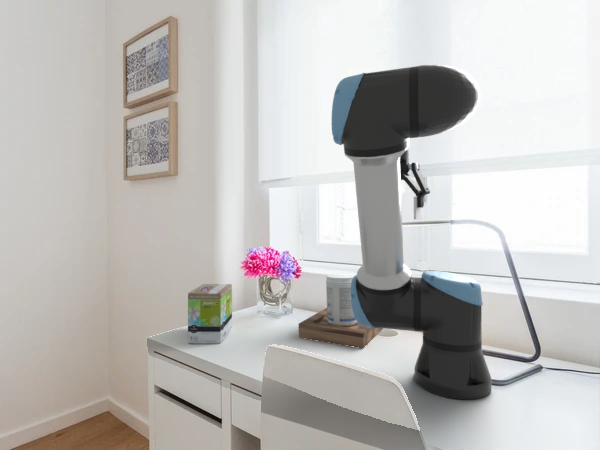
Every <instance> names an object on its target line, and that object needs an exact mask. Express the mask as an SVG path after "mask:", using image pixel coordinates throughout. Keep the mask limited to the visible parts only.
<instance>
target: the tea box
mask: <svg viewBox="0 0 600 450" xmlns="http://www.w3.org/2000/svg"><path fill="white" fill-rule="evenodd" d="M232 286H233V285H232V284H231V283H224V284H223V283H221V284H220V283H218V284H217V283H210V284H209V283H206V284H205V283H203V284H201V285H200V286H198V287H196V288H195V289H193V290H191V291H189V292H188V293H187V343H188V344H195V345H197V344H202V345H203V344H204V345H205V344H207V345H208V344H209V345H210V344H221V343H222V341H224V338H226V336H227V334H229V332H230V331H231V329H232V328H233V287H232Z"/></svg>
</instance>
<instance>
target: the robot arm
mask: <svg viewBox="0 0 600 450" xmlns="http://www.w3.org/2000/svg"><path fill="white" fill-rule="evenodd" d="M480 101H481V91H480V86H479V83H478V82H477V80H476V78H474V77H473V75H471V74H470V73H468V72H467V71H465V70H462V69H461V68H458V67H454V66H449V65H445V64H444V65H443V64H420V65H417V66H410V67H409V66H407V67H401V68H395V69H387V70H380V71H373V72H367V73H366V72H362V73H359V74H356V75H351V76H347V77H344V78H342V79H341V80H340V81H339V82H338V84H337V86H336V87H335V91H334V95H333V99H332V105H331V106H332V107H331V134H332V136H333V137H332V140H333V142H334V143H335V144H336V145H338V146H342V145H343V151H344V156H345V157H347V159H349V160H351V161H352V162H353V172H354V174H353V175H354V182H355V193H356V206H357V215H358V216H357V217H358V226H359V227H358V228H359V235H360V236H359V237H360V239H359V240H360V247H361V260H362V265H361V266H360V267H359V268H358V270H357V272H356V274H355V276H354V277H353V279H352V282H351V289H350V292H351V305H352V310H353V314H354V317H355V319H356V321H357V322H358V323H359V324H361V325H362V326H367V327H373V328H377V329H379V328H383V329H388V330H397V331H399V330H400V331H408V332H409V331H411V332H420V333H422V345H421V348H420V350H419V353H418V356H417V359H416V362H415V365H414V380H415V382H416V383H417V385H419V386H420V387H421V388H422V389H424V390H425V391H428V392H430V393H432V394H434V395H439V396H442V397H446V398H449V399H456V400H476V399H480V398H481V399H482V398H484V397H487V396H488V395H489V394H490V393H491V391H492V376H491V373H490V370H489V367H488V364H487V361H486V359H485V356H484V353H483V345H482V339H483V338H482V337H483V336H482V335H483V333H482V331H483V328H482V325H483V324H482V306H484V305H483V304H484V302H483V299H482V287H481V285H480V283H479V282H478V281H477V280H476V279H473V278H472V277H469V276H466V275H464V274H463V275H462V274H458V273H453V272H446V271H443V270H442V271H439V270H423V272H422V274H421V277H414V276H413V277H412V271H411V269H410V268H409V266H407V265H406V264H405V263H404V241H403V215H402V213H403V211H402V210H403V209H402V185H401V182H402V181H404V182H405V183H406V184H407V186H408V187H409V188H410V189H411V191H412V192H413V193H414V194H415V196H413V220H422V208H424V205H425V204H424V197H425V196H426V195H429V194H430V193H431V190H430V188H429V186H428V184H427V181H426V179H425V177H424V175H423V174H422V172H421V167H420V164H419V163H418V162H411V164H410V160H411V159H410V158H411V157H410V154H411V153H410V152H411V151H410V149H409V148H410V139H415V138H417V139H418V138H423V137H425V138H426V137H431V136H436V135H439V134H441V133H445V132H448V131H451V130H453V129H455V128H457V127H458V126H459V127H460V126H461V125H463V124H464V123H466V122H467V121H468V120H470V119H471V118H472V116H473V115H474V114H475V113H476V111H477V109H478V107H479V104H480ZM410 170H411V172H412V174H413V177H414V179H415V180H414V179H413V177H412V176H411V175H410ZM416 182H417V183H416Z"/></svg>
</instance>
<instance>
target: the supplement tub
mask: <svg viewBox="0 0 600 450" xmlns="http://www.w3.org/2000/svg"><path fill="white" fill-rule="evenodd" d="M355 275H356V274H355V273H350V272H349V273H348V272H338V273H330V274H327V275H326V279H325V283H326V308H327V321H328V323H330V324H331V325H335V326H352V325H355V324H356V323H357V321H356V319H355V317H354V314H353V310H352V305H351V292H350V289H351V282H352V279H353V277H354V276H355Z"/></svg>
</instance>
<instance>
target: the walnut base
mask: <svg viewBox="0 0 600 450" xmlns="http://www.w3.org/2000/svg"><path fill="white" fill-rule="evenodd" d="M383 330H384V328H379V329H377V328H373V327H367V326H362V325H361V324H359V323H358V322H357V323H356V324H355V325H352V326H335V325H331V324H330V323H328V321H327V307H325V308H324V309H322V310H321V311H318V312H317V313H315V314H313V315H312V316H309V317H308V318H306V319H305V320H302V321H301V322H299V323H298V338H299V337H300V339H304V338H306V339H305V340H310V339H312V340H311V341H315V340H318V341H317V342H321V341H324V342H323V343H327V342H330V343H329V344H333V343H335V344H334V345H338V344H341V345H340V346H344V345H348V346H347V347H350V346H354V347H353V348H356V347H359V348H358V349H362V348H364V347H365V346H366V345H367V344H368V343H369V342H370V341H371V340H372V339H373V338H374V337H375V336H376V337H377V335H379V334H380V332H382V331H383ZM376 337H375V338H376ZM375 338H374V339H375ZM372 341H373V340H372ZM372 341H371V342H372ZM371 342H370V343H371ZM370 343H369V344H370ZM369 344H368V345H369ZM368 345H367V346H368ZM367 346H366V347H367ZM366 347H365V348H366ZM365 348H364V349H365Z"/></svg>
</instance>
